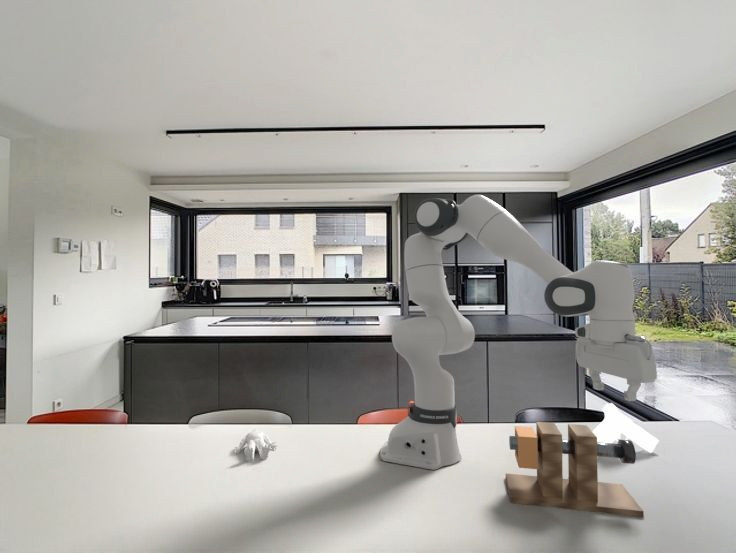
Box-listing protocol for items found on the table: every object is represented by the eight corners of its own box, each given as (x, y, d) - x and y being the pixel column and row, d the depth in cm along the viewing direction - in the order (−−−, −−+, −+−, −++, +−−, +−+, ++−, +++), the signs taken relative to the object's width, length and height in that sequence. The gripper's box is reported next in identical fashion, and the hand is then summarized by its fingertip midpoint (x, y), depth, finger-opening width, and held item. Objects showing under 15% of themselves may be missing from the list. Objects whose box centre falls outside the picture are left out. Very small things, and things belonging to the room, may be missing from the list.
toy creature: (234, 449, 112) (233, 425, 123) (234, 469, 113) (233, 443, 124) (279, 444, 116) (275, 420, 127) (279, 463, 117) (275, 438, 128)
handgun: (587, 445, 117) (613, 403, 118) (581, 441, 120) (607, 400, 121) (636, 479, 118) (661, 438, 120) (629, 475, 121) (654, 434, 122)
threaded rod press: (511, 502, 92) (510, 434, 92) (505, 478, 104) (505, 417, 104) (643, 517, 86) (642, 443, 87) (622, 489, 98) (621, 424, 98)
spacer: (518, 467, 94) (518, 436, 94) (515, 455, 101) (514, 426, 101) (537, 469, 93) (537, 437, 93) (532, 456, 100) (532, 427, 100)
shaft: (511, 457, 96) (510, 435, 96) (508, 448, 100) (508, 428, 100) (635, 467, 90) (635, 445, 90) (627, 458, 95) (627, 437, 95)
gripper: (664, 337, 84) (666, 406, 84) (593, 328, 104) (594, 384, 104) (636, 338, 83) (638, 408, 83) (570, 328, 103) (571, 385, 103)
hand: (613, 394), depth 93 cm, fingers open, 8 cm apart
